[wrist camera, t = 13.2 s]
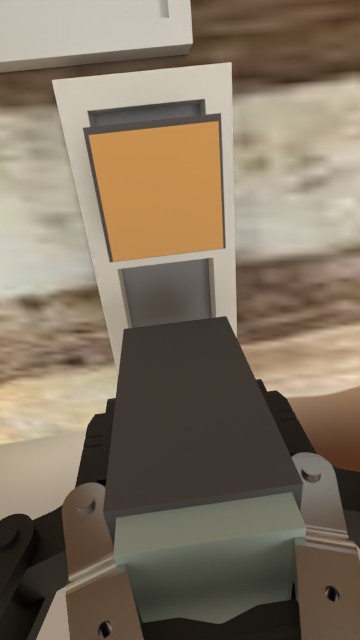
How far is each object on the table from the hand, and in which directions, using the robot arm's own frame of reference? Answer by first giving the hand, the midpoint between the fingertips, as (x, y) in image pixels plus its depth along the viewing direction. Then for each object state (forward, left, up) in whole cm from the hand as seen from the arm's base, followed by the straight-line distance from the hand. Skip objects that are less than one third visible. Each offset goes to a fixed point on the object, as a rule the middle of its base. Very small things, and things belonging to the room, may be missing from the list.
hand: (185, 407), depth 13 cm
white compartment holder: (-4, 0, -12) cm, 12 cm away
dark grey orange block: (-8, 0, -11) cm, 13 cm away
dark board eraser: (0, 0, -3) cm, 3 cm away
